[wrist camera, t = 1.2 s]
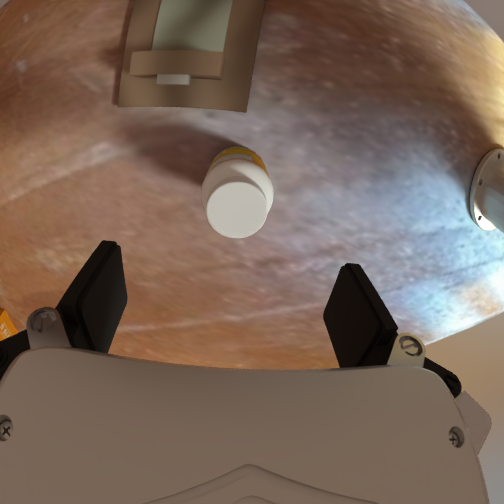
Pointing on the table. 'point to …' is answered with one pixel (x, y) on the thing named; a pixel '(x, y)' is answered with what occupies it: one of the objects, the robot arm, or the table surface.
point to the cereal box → (6, 326)
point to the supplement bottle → (237, 192)
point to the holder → (190, 54)
